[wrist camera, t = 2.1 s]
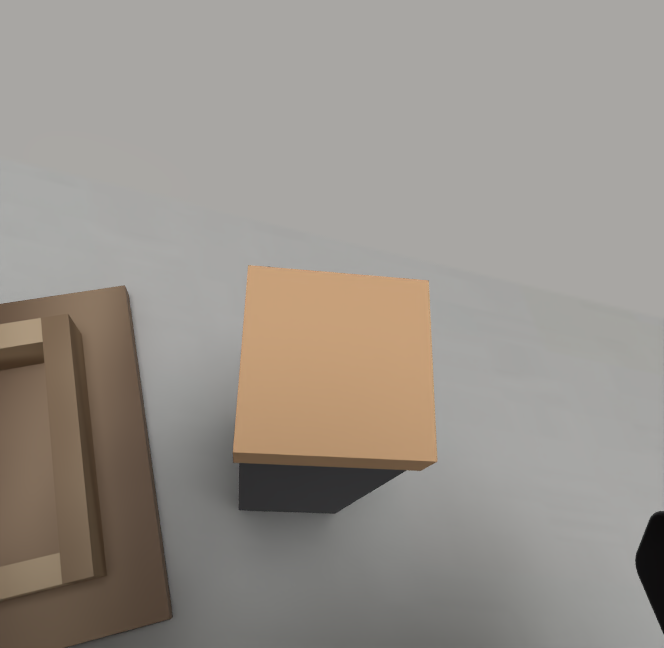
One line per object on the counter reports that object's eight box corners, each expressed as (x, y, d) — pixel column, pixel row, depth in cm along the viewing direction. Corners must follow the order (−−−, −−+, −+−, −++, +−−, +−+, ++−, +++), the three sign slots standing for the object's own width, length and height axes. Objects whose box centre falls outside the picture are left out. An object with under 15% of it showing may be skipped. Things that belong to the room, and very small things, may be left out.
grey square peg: (337, 516, 20) (437, 462, 10) (235, 513, 20) (232, 452, 10) (339, 417, 21) (428, 280, 11) (243, 412, 21) (248, 264, 11)
